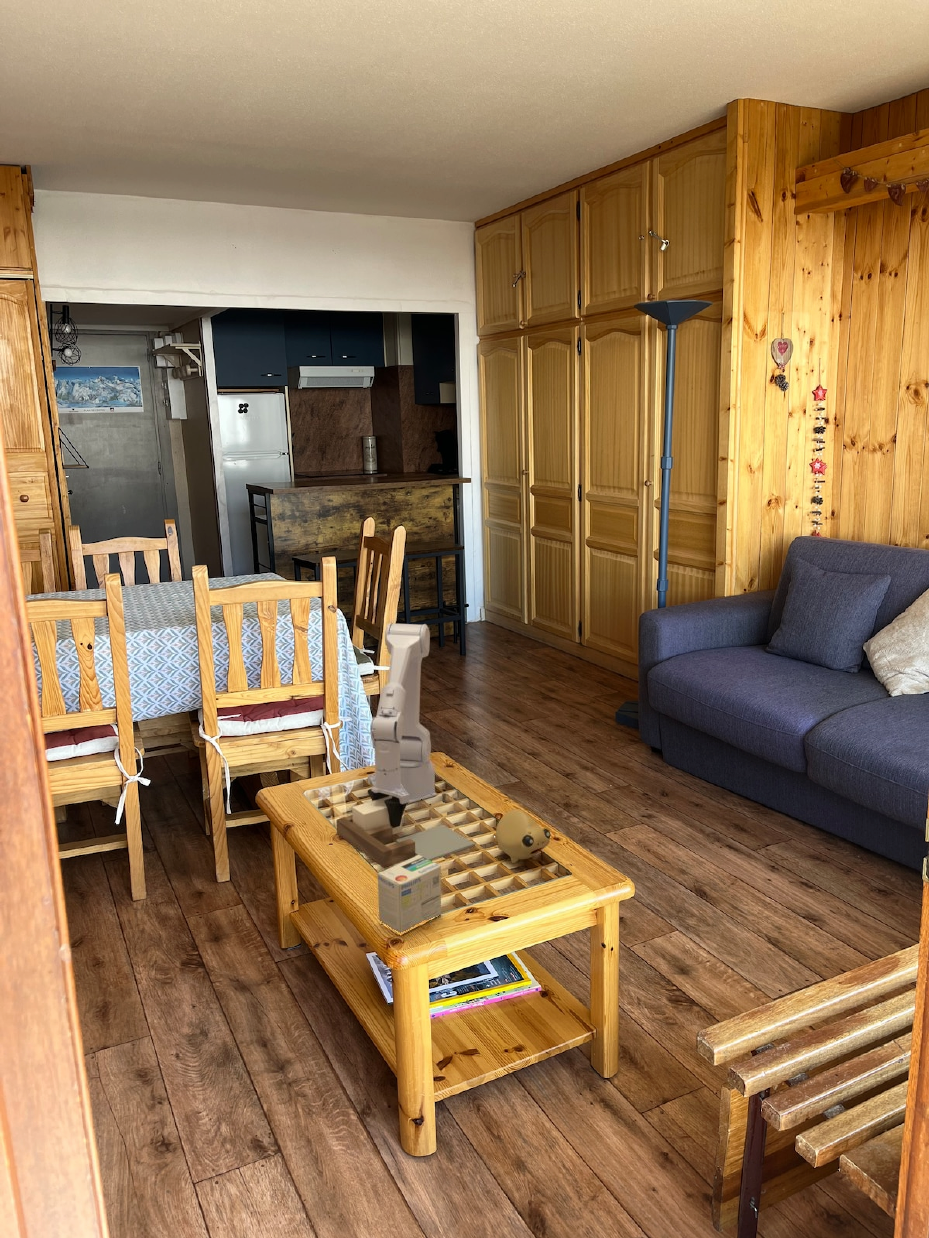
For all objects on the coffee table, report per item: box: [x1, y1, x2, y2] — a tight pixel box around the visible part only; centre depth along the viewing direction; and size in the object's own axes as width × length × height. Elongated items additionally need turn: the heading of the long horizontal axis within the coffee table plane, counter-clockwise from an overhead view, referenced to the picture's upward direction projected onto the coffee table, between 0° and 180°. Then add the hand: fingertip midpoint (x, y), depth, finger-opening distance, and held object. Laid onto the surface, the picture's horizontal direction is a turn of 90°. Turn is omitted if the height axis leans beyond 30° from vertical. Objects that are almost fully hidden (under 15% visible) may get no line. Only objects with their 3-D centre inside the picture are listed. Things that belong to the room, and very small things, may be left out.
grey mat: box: [395, 824, 476, 862], centre depth 212 cm, size 13×12×1 cm
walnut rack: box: [336, 814, 416, 868], centre depth 211 cm, size 8×20×4 cm, turn 37°
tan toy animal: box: [495, 808, 551, 863], centre depth 204 cm, size 10×12×11 cm
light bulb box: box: [377, 855, 442, 933], centre depth 180 cm, size 11×7×11 cm, turn 134°
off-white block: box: [351, 795, 403, 835], centre depth 216 cm, size 10×5×7 cm, turn 127°
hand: (388, 822), depth 218 cm, fingers closed on off-white block, 5 cm apart
